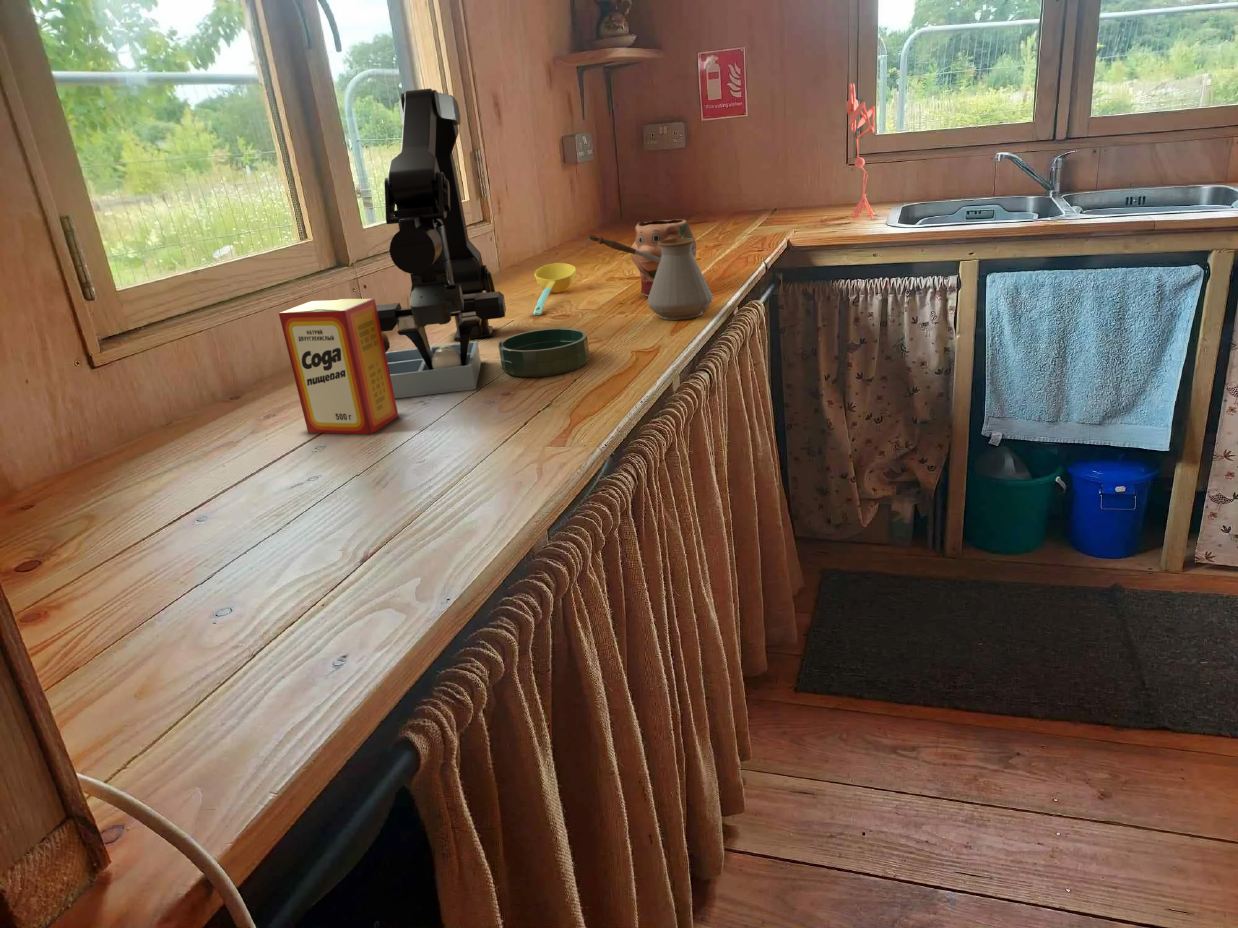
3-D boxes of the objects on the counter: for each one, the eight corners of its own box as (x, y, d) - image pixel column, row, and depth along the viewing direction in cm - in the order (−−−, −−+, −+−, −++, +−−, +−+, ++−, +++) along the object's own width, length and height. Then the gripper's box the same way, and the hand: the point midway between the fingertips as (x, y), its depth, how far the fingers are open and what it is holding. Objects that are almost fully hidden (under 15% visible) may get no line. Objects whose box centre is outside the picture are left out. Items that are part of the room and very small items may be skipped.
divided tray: (387, 373, 136) (383, 352, 135) (481, 362, 137) (477, 341, 136) (371, 401, 123) (366, 378, 121) (475, 389, 123) (471, 365, 122)
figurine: (876, 211, 254) (878, 80, 240) (876, 224, 231) (878, 80, 218) (822, 214, 258) (821, 86, 245) (817, 227, 235) (815, 86, 222)
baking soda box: (308, 432, 112) (277, 310, 106) (337, 415, 118) (310, 298, 112) (371, 433, 109) (344, 307, 103) (398, 416, 115) (374, 295, 109)
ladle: (580, 281, 189) (578, 256, 186) (562, 338, 167) (559, 311, 164) (540, 283, 190) (537, 258, 187) (517, 339, 169) (513, 312, 165)
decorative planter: (653, 282, 185) (647, 215, 179) (709, 280, 181) (705, 211, 175) (623, 304, 167) (616, 229, 162) (685, 302, 163) (680, 226, 158)
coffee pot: (715, 305, 158) (710, 220, 152) (711, 320, 148) (706, 230, 142) (600, 313, 162) (591, 230, 156) (588, 328, 151) (578, 240, 146)
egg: (436, 372, 129) (431, 344, 127) (465, 368, 129) (460, 340, 127) (432, 382, 124) (427, 353, 122) (462, 378, 124) (457, 350, 122)
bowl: (504, 359, 137) (500, 334, 136) (587, 349, 138) (584, 324, 136) (501, 382, 125) (497, 355, 124) (592, 371, 126) (589, 344, 124)
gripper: (349, 279, 112) (374, 394, 118) (494, 263, 113) (511, 378, 119) (365, 265, 122) (386, 372, 128) (497, 250, 123) (513, 357, 129)
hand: (448, 370), depth 126 cm, fingers closed on egg, 4 cm apart
